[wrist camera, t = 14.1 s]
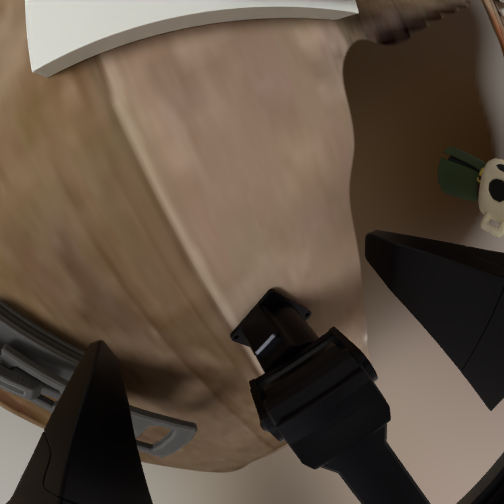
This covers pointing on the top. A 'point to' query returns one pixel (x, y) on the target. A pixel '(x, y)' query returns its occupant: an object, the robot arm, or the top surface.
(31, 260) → the top surface
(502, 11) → the spread jar
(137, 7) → the mounting board
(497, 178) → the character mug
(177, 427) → the zipper pull
